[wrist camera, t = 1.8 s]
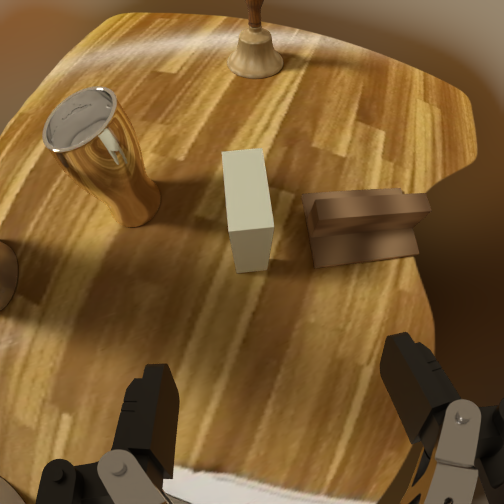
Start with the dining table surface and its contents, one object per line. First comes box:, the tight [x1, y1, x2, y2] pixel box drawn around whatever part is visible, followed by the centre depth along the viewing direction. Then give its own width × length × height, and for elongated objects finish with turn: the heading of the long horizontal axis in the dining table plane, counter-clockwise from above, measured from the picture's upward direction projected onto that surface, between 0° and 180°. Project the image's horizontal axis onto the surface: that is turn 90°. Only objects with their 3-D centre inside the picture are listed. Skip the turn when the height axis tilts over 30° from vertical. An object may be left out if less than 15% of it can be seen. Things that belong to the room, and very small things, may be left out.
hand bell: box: [227, 0, 283, 79], centre depth 34 cm, size 8×8×16 cm
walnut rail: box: [302, 188, 431, 268], centre depth 30 cm, size 12×8×5 cm, turn 96°
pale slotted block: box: [222, 148, 274, 273], centre depth 27 cm, size 6×3×11 cm, turn 6°
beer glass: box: [43, 86, 161, 227], centre depth 27 cm, size 7×7×15 cm
